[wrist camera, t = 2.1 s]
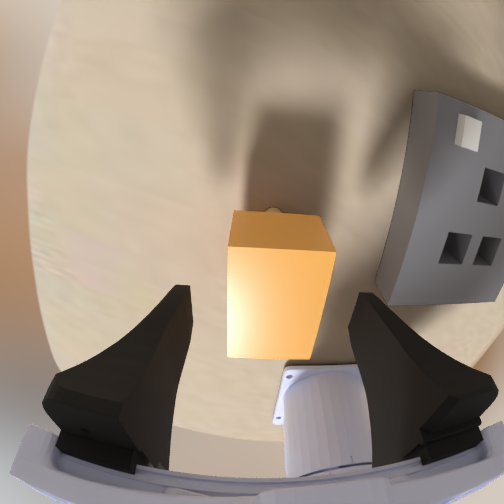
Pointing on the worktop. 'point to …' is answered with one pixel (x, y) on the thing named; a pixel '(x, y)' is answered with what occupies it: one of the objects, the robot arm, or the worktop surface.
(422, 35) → the worktop surface
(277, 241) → the plug
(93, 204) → the worktop surface
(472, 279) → the socket
